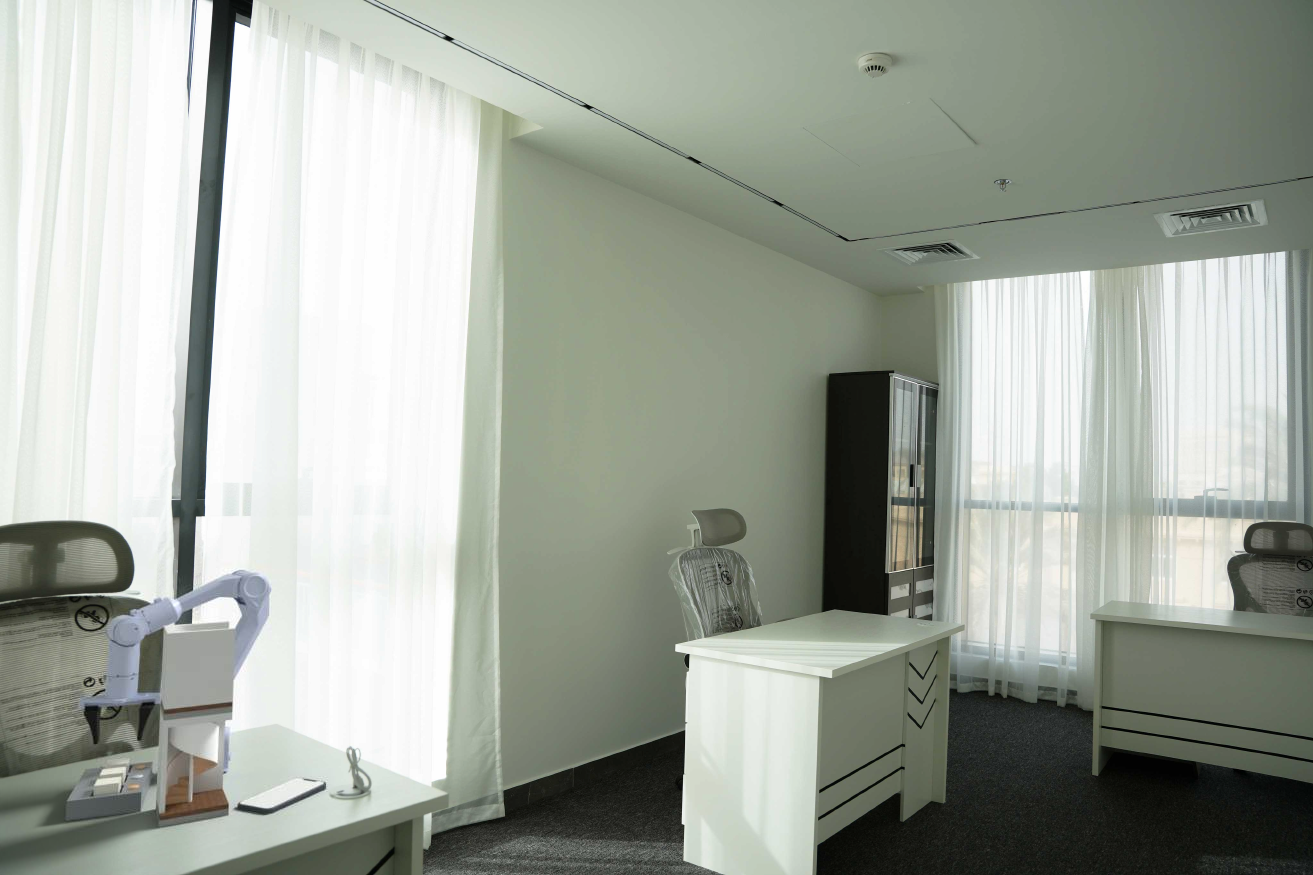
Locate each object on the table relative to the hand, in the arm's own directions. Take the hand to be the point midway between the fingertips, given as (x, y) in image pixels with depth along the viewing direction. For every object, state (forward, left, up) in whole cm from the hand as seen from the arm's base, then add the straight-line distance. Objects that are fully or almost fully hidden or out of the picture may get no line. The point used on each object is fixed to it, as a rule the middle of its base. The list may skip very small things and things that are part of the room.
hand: (118, 741), depth 176 cm
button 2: (0, 0, -7) cm, 7 cm away
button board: (0, +6, -10) cm, 12 cm away
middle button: (0, +6, -7) cm, 10 cm away
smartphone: (-31, +20, -10) cm, 38 cm away
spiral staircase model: (-15, +21, -10) cm, 27 cm away
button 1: (0, +13, -7) cm, 15 cm away
